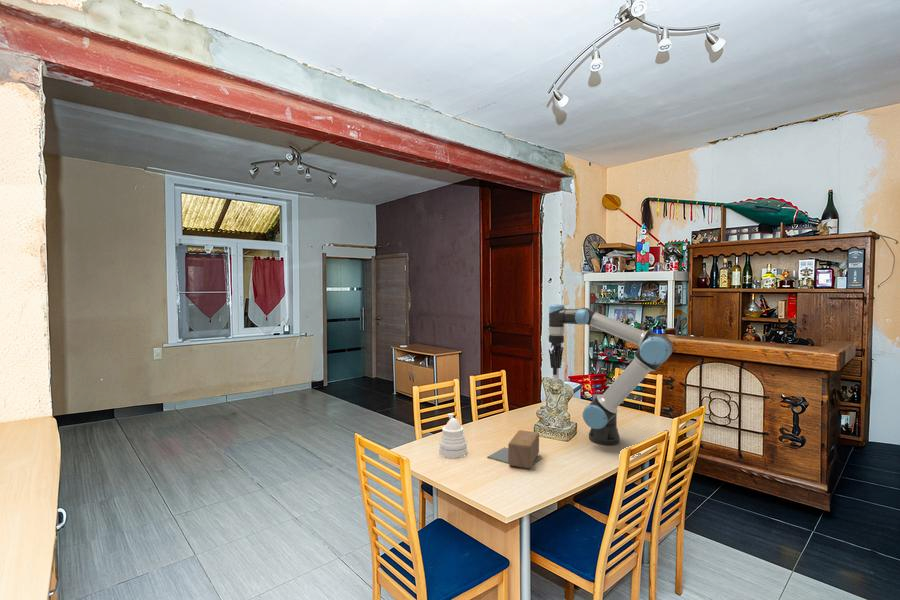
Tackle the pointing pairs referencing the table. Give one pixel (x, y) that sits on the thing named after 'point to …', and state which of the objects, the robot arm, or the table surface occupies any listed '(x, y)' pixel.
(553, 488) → the table surface
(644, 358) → the robot arm
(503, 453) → the mat
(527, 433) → the wooden block
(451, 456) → the honey pot
